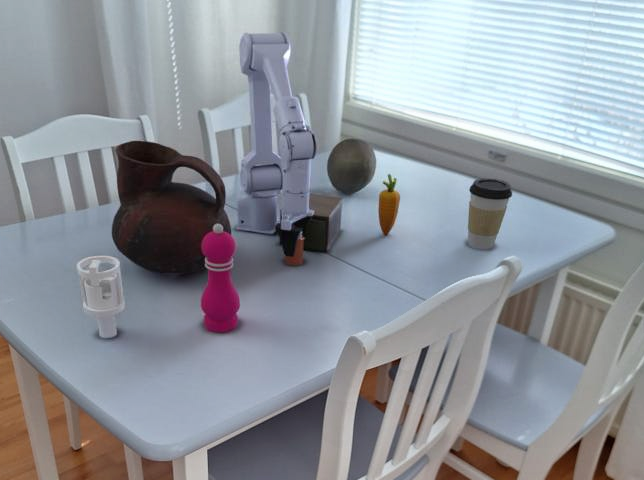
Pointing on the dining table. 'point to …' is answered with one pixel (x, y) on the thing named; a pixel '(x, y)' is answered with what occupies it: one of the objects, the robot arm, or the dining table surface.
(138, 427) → the dining table surface
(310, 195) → the cabinet
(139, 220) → the jug
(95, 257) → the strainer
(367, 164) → the cantaloupe
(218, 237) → the pepper mill
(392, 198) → the carrot
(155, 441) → the dining table surface
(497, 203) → the coffee cup
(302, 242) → the orange jar
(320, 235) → the drawer
